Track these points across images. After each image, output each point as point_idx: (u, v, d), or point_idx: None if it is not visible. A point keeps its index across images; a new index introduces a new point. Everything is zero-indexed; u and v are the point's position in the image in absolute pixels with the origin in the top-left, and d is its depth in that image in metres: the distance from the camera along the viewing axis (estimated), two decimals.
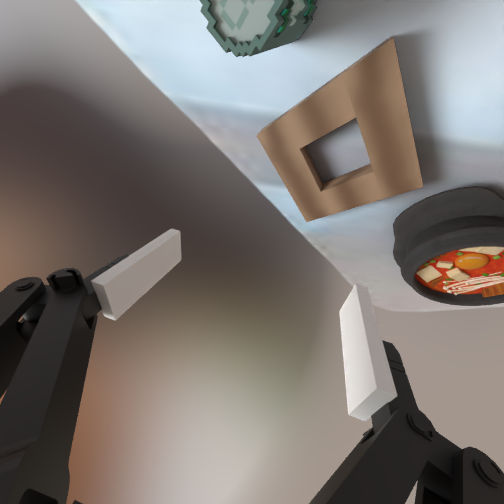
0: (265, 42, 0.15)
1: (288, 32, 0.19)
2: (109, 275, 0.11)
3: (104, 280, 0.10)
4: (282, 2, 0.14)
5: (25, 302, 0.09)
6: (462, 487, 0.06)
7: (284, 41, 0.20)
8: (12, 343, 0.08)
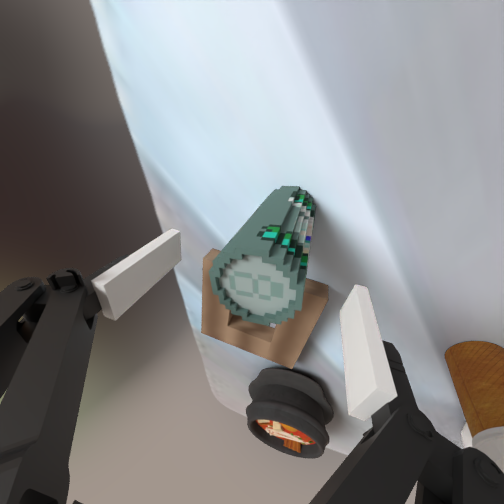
0: None
1: None
2: (109, 275, 0.11)
3: (104, 280, 0.10)
4: (280, 323, 0.14)
5: (25, 302, 0.09)
6: (462, 487, 0.06)
7: None
8: (12, 343, 0.08)
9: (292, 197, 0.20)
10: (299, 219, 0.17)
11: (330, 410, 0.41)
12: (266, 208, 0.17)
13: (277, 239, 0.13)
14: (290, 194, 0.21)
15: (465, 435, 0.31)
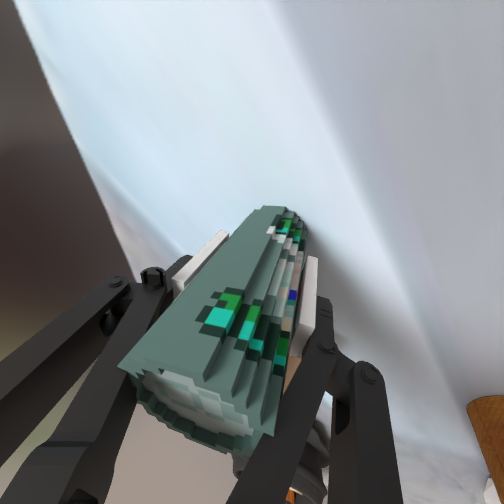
0: None
1: None
2: (185, 273, 0.12)
3: (182, 278, 0.11)
4: None
5: (111, 300, 0.10)
6: (354, 393, 0.08)
7: None
8: (93, 336, 0.09)
9: (273, 226, 0.14)
10: (279, 265, 0.12)
11: (328, 455, 0.36)
12: (232, 248, 0.12)
13: (233, 322, 0.08)
14: (271, 220, 0.15)
15: (489, 498, 0.26)
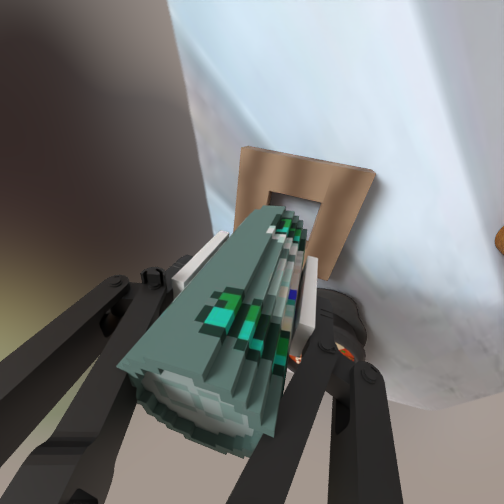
0: None
1: None
2: (185, 273, 0.12)
3: (182, 278, 0.11)
4: None
5: (111, 300, 0.10)
6: (355, 393, 0.08)
7: None
8: (93, 336, 0.09)
9: (273, 226, 0.14)
10: (279, 265, 0.12)
11: (364, 333, 0.40)
12: (231, 248, 0.12)
13: (233, 322, 0.08)
14: (271, 220, 0.15)
15: None
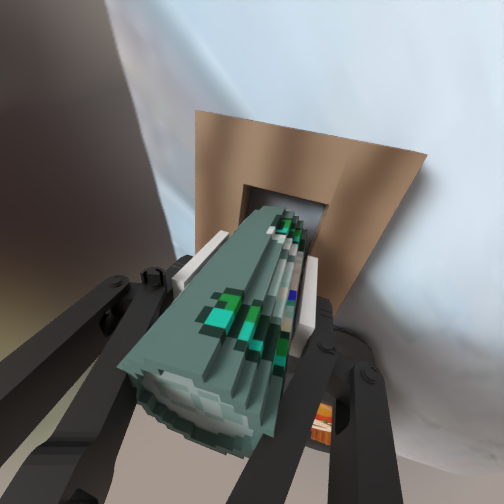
0: None
1: None
2: (185, 273, 0.12)
3: (182, 278, 0.11)
4: None
5: (111, 300, 0.10)
6: (355, 393, 0.08)
7: None
8: (93, 336, 0.09)
9: (273, 226, 0.14)
10: (279, 265, 0.12)
11: None
12: (231, 248, 0.12)
13: (233, 323, 0.08)
14: (271, 220, 0.15)
15: None
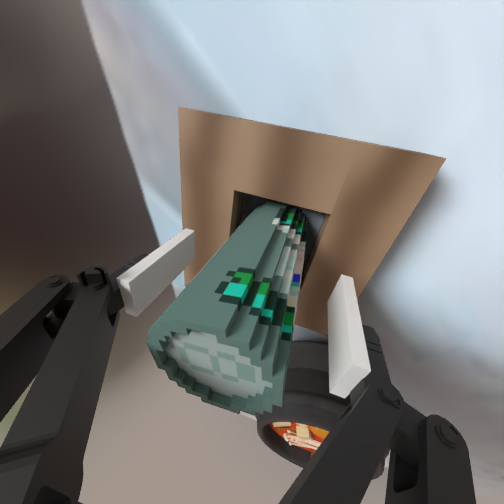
0: None
1: None
2: (132, 273, 0.11)
3: (128, 277, 0.11)
4: None
5: (53, 299, 0.09)
6: (426, 452, 0.07)
7: None
8: (38, 339, 0.09)
9: (277, 218, 0.15)
10: (284, 251, 0.13)
11: None
12: (241, 236, 0.13)
13: (247, 295, 0.09)
14: (275, 213, 0.17)
15: None
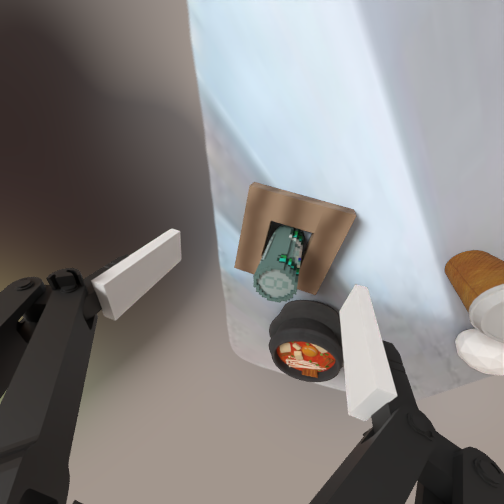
0: None
1: None
2: (109, 275, 0.11)
3: (104, 280, 0.10)
4: (285, 300, 0.29)
5: (25, 302, 0.09)
6: (462, 487, 0.06)
7: None
8: (12, 343, 0.08)
9: (291, 234, 0.35)
10: (295, 249, 0.33)
11: None
12: (278, 242, 0.33)
13: (285, 261, 0.29)
14: (289, 231, 0.36)
15: (458, 341, 0.38)
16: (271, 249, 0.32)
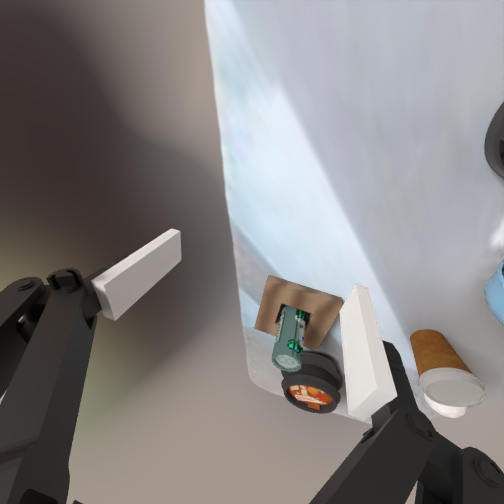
0: (283, 369, 0.44)
1: None
2: (109, 275, 0.11)
3: (104, 280, 0.10)
4: (293, 371, 0.44)
5: (25, 302, 0.09)
6: (462, 487, 0.06)
7: None
8: (12, 343, 0.08)
9: (296, 315, 0.49)
10: (299, 330, 0.47)
11: (340, 380, 0.61)
12: (287, 325, 0.47)
13: (293, 346, 0.43)
14: (295, 311, 0.50)
15: None
16: (283, 332, 0.46)
